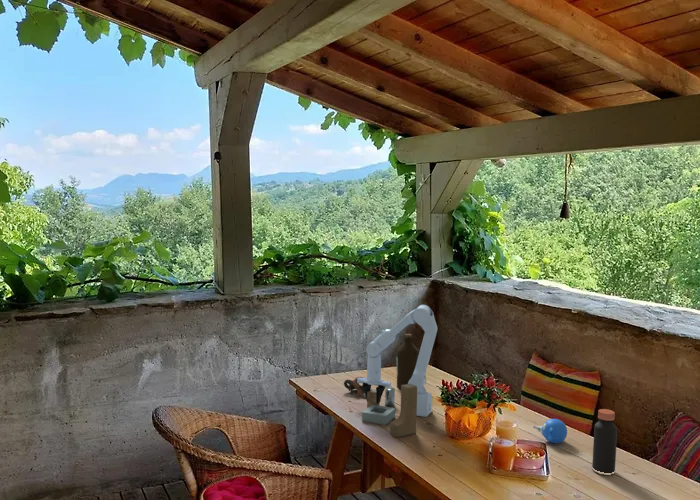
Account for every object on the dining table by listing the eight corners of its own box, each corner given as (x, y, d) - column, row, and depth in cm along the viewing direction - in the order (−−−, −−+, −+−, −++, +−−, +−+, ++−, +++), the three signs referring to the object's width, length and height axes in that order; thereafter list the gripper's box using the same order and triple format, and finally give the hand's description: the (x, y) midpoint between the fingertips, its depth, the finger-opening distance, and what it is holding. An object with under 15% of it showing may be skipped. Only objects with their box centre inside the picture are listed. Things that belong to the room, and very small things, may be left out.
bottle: (595, 465, 200) (599, 406, 199) (617, 471, 196) (620, 411, 194) (589, 471, 195) (592, 411, 193) (611, 478, 191) (614, 416, 189)
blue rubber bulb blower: (535, 432, 228) (536, 410, 227) (569, 438, 222) (570, 416, 222) (529, 443, 217) (530, 420, 217) (563, 450, 212) (564, 427, 211)
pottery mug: (367, 390, 278) (372, 377, 273) (366, 405, 269) (371, 392, 265) (342, 383, 277) (346, 370, 272) (340, 398, 269) (345, 385, 264)
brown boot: (396, 438, 221) (397, 389, 219) (389, 433, 224) (390, 386, 223) (416, 433, 225) (417, 386, 224) (409, 429, 229) (410, 383, 227)
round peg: (395, 404, 257) (396, 388, 256) (392, 407, 253) (392, 391, 253) (387, 403, 259) (387, 387, 258) (383, 405, 255) (383, 389, 254)
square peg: (379, 406, 254) (379, 390, 253) (375, 409, 250) (376, 393, 249) (370, 405, 255) (371, 389, 255) (367, 408, 252) (367, 391, 251)
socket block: (394, 416, 242) (395, 408, 242) (385, 425, 233) (385, 416, 233) (372, 412, 246) (372, 404, 246) (362, 420, 237) (362, 412, 237)
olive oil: (420, 385, 284) (422, 333, 282) (415, 391, 274) (416, 337, 272) (399, 382, 288) (400, 331, 286) (392, 389, 278) (394, 335, 276)
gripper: (354, 370, 251) (353, 402, 252) (386, 374, 245) (385, 407, 246) (361, 366, 257) (360, 397, 258) (392, 370, 251) (392, 402, 252)
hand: (373, 401), depth 252 cm, fingers closed on square peg, 4 cm apart
